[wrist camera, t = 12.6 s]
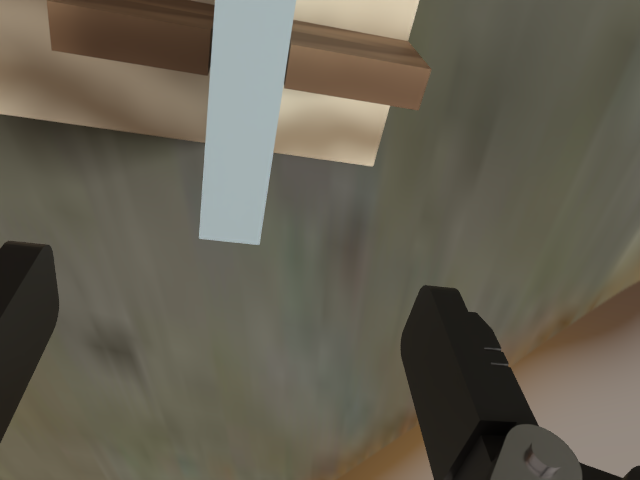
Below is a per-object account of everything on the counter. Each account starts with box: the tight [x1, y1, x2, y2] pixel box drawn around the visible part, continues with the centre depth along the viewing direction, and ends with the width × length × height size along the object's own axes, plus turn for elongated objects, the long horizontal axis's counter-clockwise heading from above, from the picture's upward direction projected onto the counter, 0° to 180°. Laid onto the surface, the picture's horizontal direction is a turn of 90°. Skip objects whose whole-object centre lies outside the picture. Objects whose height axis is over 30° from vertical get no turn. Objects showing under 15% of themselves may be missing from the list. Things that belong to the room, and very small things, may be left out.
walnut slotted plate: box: [47, 0, 431, 110], centre depth 30 cm, size 2×20×6 cm, turn 79°
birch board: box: [0, 0, 419, 166], centre depth 32 cm, size 16×32×1 cm, turn 79°
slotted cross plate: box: [199, 0, 296, 245], centre depth 27 cm, size 14×3×13 cm, turn 169°
